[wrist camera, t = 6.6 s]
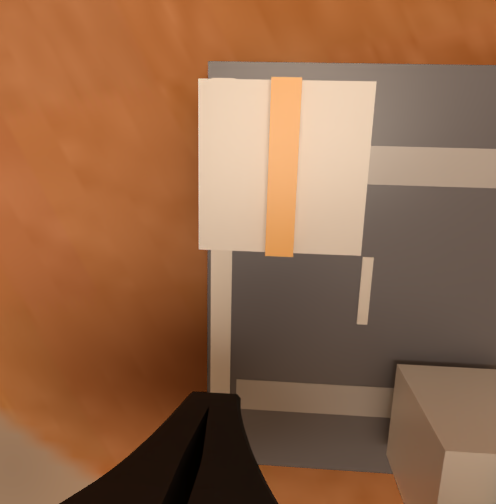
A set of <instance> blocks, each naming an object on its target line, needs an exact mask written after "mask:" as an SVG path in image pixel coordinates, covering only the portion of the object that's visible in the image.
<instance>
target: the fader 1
mask: <svg viewBox="0 0 496 504" xmlns="http://www.w3.org/2000/svg"><path fill="white" fill-rule="evenodd" d="M376 83H377V81H321V80H302V77H271V80H260V79H199V78H198V160H199V249H201V250H227V251H252V252H265V256H278V257H293V253H302V254H328V255H353V256H361V249H362V238H363V227H364V216H365V205H366V194H367V183H368V171H369V160H370V149H371V138H372V127H373V116H374V105H375V94H376Z"/></svg>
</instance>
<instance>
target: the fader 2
mask: <svg viewBox="0 0 496 504" xmlns="http://www.w3.org/2000/svg"><path fill="white" fill-rule="evenodd" d="M386 455H387V458H388V461H389V464H390V466H391V469H392V472H393V475H394V478H395V480H396V483H397V486H398V489H399V492H400V494H401V497H402V500H403V503H404V504H496V369H480V368H462V367H443V366H424V365H406V364H397V368H396V376H395V385H394V393H393V402H392V410H391V419H390V427H389V436H388V444H387V452H386Z"/></svg>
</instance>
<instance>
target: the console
mask: <svg viewBox="0 0 496 504" xmlns="http://www.w3.org/2000/svg"><path fill="white" fill-rule="evenodd" d="M271 77H302V80H321V81H377V83H376V94H375V105H374V116H373V127H372V138H371V149H370V160H369V171H368V183H367V194H366V205H365V216H364V227H363V238H362V249H361V256H353V255H328V254H302V253H293V257H278V256H265V252H252V251H227V250H208V315H207V392H211V393H228V394H237V395H238V396H239V397H240V398H241V415H242V420H243V424H244V428H245V431H246V434H247V437H248V441H249V444H250V447H251V449H252V452H253V454H254V457H255V459H256V461H257V464H258V465H271V466H286V467H300V468H315V469H330V470H344V471H359V472H374V473H388V474H393V472H392V469H391V466H390V464H389V461H388V458H387V455H386V452H387V444H388V436H389V427H390V419H391V410H392V402H393V393H394V385H395V376H396V368H397V364H406V365H424V366H443V367H462V368H480V369H496V65H437V64H366V63H294V62H223V61H208V79H260V80H271Z"/></svg>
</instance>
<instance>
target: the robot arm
mask: <svg viewBox="0 0 496 504" xmlns="http://www.w3.org/2000/svg"><path fill="white" fill-rule="evenodd" d="M60 504H278V502H277V501H276V499H275V497H274V495H273V494H272V492H271V490H270V488H269V486H268V485H267V483H266V481H265V479H264V477H263V475H262V473H261V471H260V468H259V466H258V464H257V461H256V459H255V457H254V454H253V452H252V449H251V447H250V444H249V441H248V437H247V434H246V431H245V428H244V424H243V420H242V415H241V398H240V397H239V396H238V395H237V394H228V393H211V392H192V393H191V394H190V395H189V396H188V397H187V398H186V399H185V400H184V401H183V402H182V403H181V405H180V406H179V407H178V408H177V409H176V410H175V411H174V412H173V413H172V415H171V416H170V417H169V418H168V419H167V420H166V421H165V422H164V423H163V424H162V425H161V426H160V427H159V428H158V429H157V430H156V431H155V432H154V433H153V434H152V435H151V436H150V437H149V438H148V439H147V440H146V441H145V442H143V443H142V444H141V445H140V446H139V447H138V448H137V449H136V450H135V451H133V452H132V453H131V454H130V455H129V456H128V457H127V458H125V459H124V460H123V461H122V462H120V463H119V464H118V465H117V466H115V467H114V468H113V469H112V470H110V471H109V472H107V473H106V474H105V475H103V476H102V477H101V478H99V479H98V480H96V481H95V482H93V483H92V484H90V485H88V486H87V487H86V488H84V489H82V490H81V491H79V492H77V493H76V494H74V495H73V496H71V497H69V498H68V499H66V500H65V501H63V502H62V503H60Z"/></svg>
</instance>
